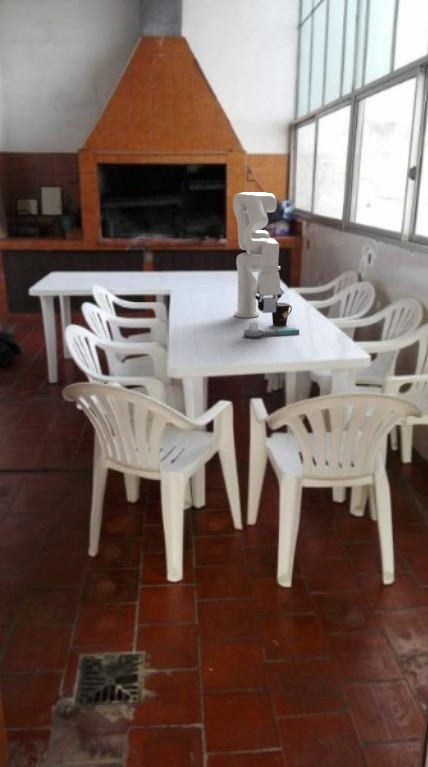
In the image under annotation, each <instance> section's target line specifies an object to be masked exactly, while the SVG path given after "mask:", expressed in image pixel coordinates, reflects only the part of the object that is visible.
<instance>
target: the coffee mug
mask: <svg viewBox="0 0 428 767" xmlns="http://www.w3.org/2000/svg"><path fill="white" fill-rule="evenodd" d="M292 308H293V307H292V305H291V304H290V303H288V302H287V303H286V302H277V307H276V312H271V317H272V318H271V319H272V326H274V327H280V328H281V327H286V326H287V323H288V317H289V315H291V312H292V310H293V309H292Z"/></svg>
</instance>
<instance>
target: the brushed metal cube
mask: <svg viewBox="0 0 428 767" xmlns="http://www.w3.org/2000/svg"><path fill="white" fill-rule="evenodd" d="M262 302H263V308H262V311H261V310H259V312H261V313H263V314H267V313H268V314H269V313H271V314H272V312H276V303H278V301H277V299H276V298H274V297H273V295H269V296H264V297H263V299H262Z"/></svg>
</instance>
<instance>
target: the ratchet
mask: <svg viewBox="0 0 428 767" xmlns="http://www.w3.org/2000/svg"><path fill="white" fill-rule="evenodd" d="M299 334H300V329H299V328H297V327H288V328H275V329H273V330H272V329H271V330H262V329H260V328H259V324H258V323H257V322H248V329H244V330H243V337H244V338H245V339H249V338H250V340H258V339H262V338H264V337H266V338H267V337H276V336H277V337H280V336H292V335H293V336H294V335H299Z"/></svg>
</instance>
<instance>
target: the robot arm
mask: <svg viewBox="0 0 428 767" xmlns="http://www.w3.org/2000/svg"><path fill="white" fill-rule="evenodd" d="M277 206H278V204H277V198H276V196H275V195H274V194H273V193H271V192H270V193H269V192H257V191H255V192H251V191H250V192H249V191H247V192H244V191H243V192H239V193H237V194H236V193H235V195H234V197H233V200H232V208H233V213H234V215H235V218H236V221H237V222H236V223H237V238H238V239H237V240H238V242H237V243H238V247H239V249H241V250H245V251H246V252H242V253H239V254H238V255H237V256H236V260H235V261H236V268H237V269H236V270H237V305H236V306H237V310H236V311H235V312H234V313H233V314H234V316H235V317H238V318H244V319H245V318H246V319H249V318H252V319H253V318H257V317H259V315H260V313H259V312H257V309H258V311H260V310H261V311H262V308H263V302H262V299H263V297H266V296H272V297H274V298H276V299H277V303H278V301H279V300H280V298H282V296H283V295H284V294H285V291H284V290H283V289H282V287H281V278H280V273H279V271H280V270H281V268H282V267H281V266H279V257H280V256H279V254H280V243H279V242H278V241H276V239H275V238H272V237H271V236H270V233H269V232H268V231H267V230H263V229H264V228H265V227H266V226H267V225H268V224H269V217H268V214H267V213H274V212H275V211H276V209H277ZM256 272H257V273H258V275H257V278H256V277H255V275H254V274H253V273H256ZM277 303H276V307H277ZM261 311H260V312H261Z"/></svg>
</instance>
